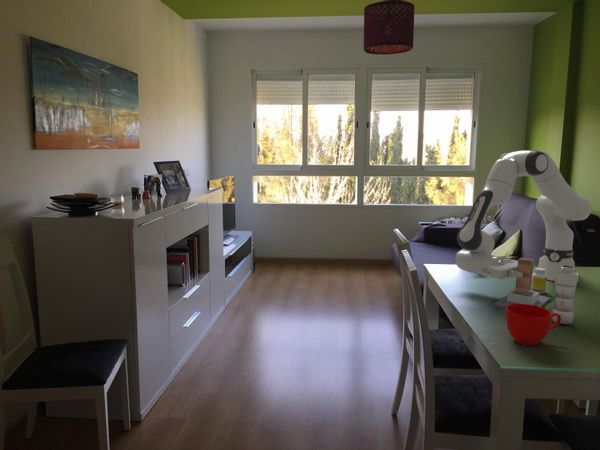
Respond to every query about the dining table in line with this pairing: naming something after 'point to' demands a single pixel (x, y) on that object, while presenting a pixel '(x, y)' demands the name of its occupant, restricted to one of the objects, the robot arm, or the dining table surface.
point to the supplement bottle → (538, 281)
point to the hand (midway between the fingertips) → (527, 273)
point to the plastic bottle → (564, 295)
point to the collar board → (522, 299)
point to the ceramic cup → (529, 323)
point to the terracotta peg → (526, 280)
